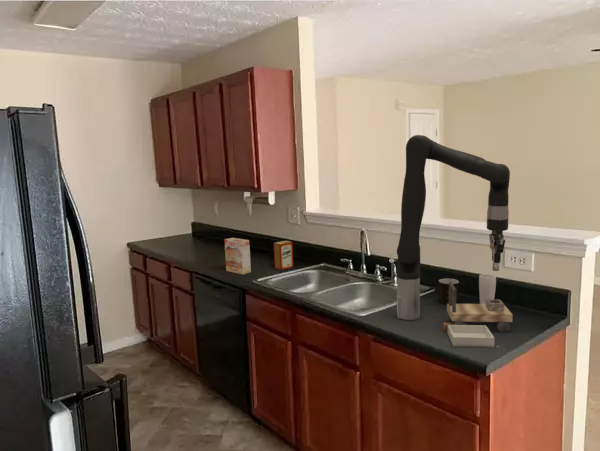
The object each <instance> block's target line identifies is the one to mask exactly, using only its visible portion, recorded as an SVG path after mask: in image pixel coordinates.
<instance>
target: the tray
mask: <svg viewBox="0 0 600 451" xmlns="http://www.w3.org/2000/svg"><path fill="white" fill-rule="evenodd" d="M446 333H447V336H448V338H449V341H450V342H451V345H452V347H454V348H455V347H456V348H457V347H458V348H459V347H462V348H463V347H464V348H465V347H466V348H495V337H494V335H493V334H492V332H491V331H490V329H489V328H488V327H487V325H485V324H484V325H482V324H480V325H477V324H475V325H474V324H466V325H448V332H446Z"/></svg>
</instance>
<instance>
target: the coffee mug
mask: <svg viewBox="0 0 600 451" xmlns="http://www.w3.org/2000/svg"><path fill="white" fill-rule="evenodd" d="M449 282H452V284H453V285H454V287H455V288H456V290H457V291H456V299H457V297H458V296H459V295H460V294H461V293H462V292H464V290H465V289H466V284H465V283H464V282H459V280H457V279H454V278H442V279H441V278H440V279H439V280H438V285H439V294H440V295H439V296H440V302H441V304H444V305H447V304H449ZM460 285H463V288H461V290H460V291H459V292H458V288H459V286H460Z"/></svg>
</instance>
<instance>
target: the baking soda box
mask: <svg viewBox="0 0 600 451" xmlns="http://www.w3.org/2000/svg"><path fill="white" fill-rule="evenodd" d="M293 245H294V243H293V241H290V240H282V241H277V242H273V256H274V258H273V261H274V269H277V270H279V271H283V270H287V269H292V268H294V246H293Z"/></svg>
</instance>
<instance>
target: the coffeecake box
mask: <svg viewBox="0 0 600 451" xmlns="http://www.w3.org/2000/svg"><path fill="white" fill-rule="evenodd" d="M223 240H224V254H225V255H224V256H225V257H224V258H225V268H226V270H225V271H226V272H229V273H235V274H239V275H246V274H249V273H251V272H252V269H251V268H252V267H251V265H252V264H251V249H250V240H249V239H244V238H239V237H238V238H236V237H230V238H224V239H223Z"/></svg>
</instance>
